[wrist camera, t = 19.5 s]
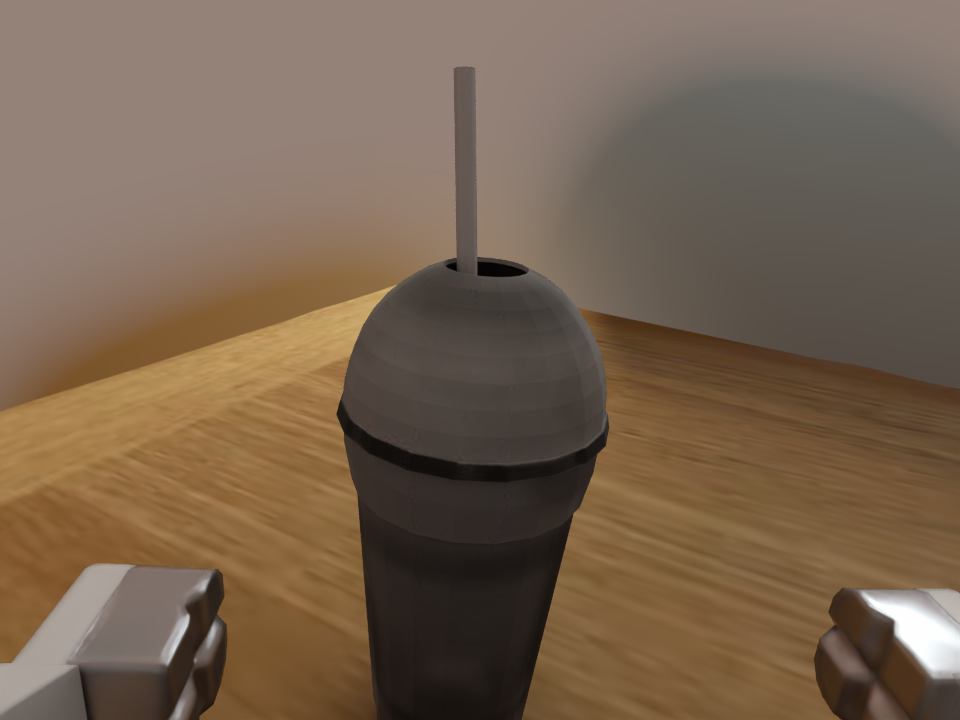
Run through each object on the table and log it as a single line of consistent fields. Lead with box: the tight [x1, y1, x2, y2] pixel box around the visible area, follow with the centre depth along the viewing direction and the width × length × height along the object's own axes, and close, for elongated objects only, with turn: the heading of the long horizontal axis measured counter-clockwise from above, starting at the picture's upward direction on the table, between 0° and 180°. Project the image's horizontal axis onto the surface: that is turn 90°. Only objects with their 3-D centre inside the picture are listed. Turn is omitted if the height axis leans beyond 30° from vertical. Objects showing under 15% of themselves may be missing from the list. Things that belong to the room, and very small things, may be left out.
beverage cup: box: [336, 67, 609, 720], centre depth 19 cm, size 7×7×20 cm
